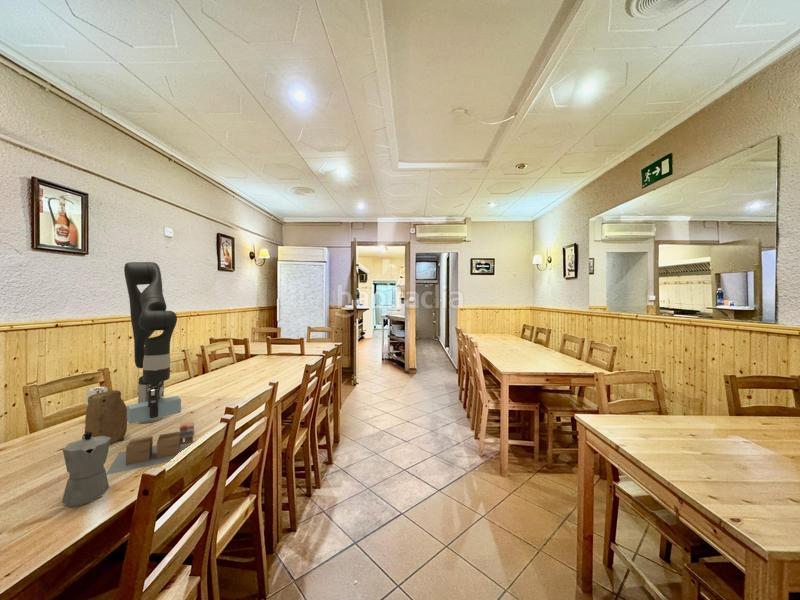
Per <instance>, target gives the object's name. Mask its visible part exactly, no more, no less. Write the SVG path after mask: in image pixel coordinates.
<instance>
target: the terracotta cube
mask: <svg viewBox="0 0 800 600" xmlns="http://www.w3.org/2000/svg"><path fill="white" fill-rule="evenodd" d="M184 425H187V430H191V429H193V436H194V433H195V421H190V422H185V423H180V426H179V431H181V426H184Z"/></svg>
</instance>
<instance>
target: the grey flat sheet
mask: <svg viewBox="0 0 800 600" xmlns="http://www.w3.org/2000/svg"><path fill="white" fill-rule="evenodd" d="M183 441H185V439H183ZM188 446H190V445H186V446H180V449H179V452H181V451H182V450H184V449H185V448H187V447H188ZM175 456H176V455H174V456H169V457H164V458H159V459H157V445H154V446H153V445H152V455H151V457H150V460H149V461H144V462H139V463H134V464H130V465H126V450H125V451H120V452H118V453H117V455H116V457H115V459H114V461H112V464H111V465H110V466H109V469H108V470H107V471H106V475H107V476H108V475H110V474H111V475H112V474H115V473H116V474H117V473H121V472H126V471H130V470H136V469H140V468H146V467H150V466H155V465H159V464H163V463H168V462H171V461H170V460H171V459H173V458H174V457H175Z"/></svg>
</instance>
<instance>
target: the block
mask: <svg viewBox="0 0 800 600" xmlns="http://www.w3.org/2000/svg"><path fill="white" fill-rule="evenodd" d="M84 423H85V426H84V434H85V433H88V432H92V436H91V437H98V436H106V437H110V438H111V441H110V445H109V447H110V446H111V445H115V444H116V443H119V442H122V440H123V439H124V437H125V436H126V433H127V429H128V421H127V405H126V403H125V401H124V400H123V398H122V393H121V390H118V389H117V390H115V389H113V390H111V389H110V390H109V389H108V391H106V392H101V393H97V394H94V395H91V396H89V397H88V405H87V406H86V410H85V422H84Z"/></svg>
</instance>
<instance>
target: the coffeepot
mask: <svg viewBox="0 0 800 600" xmlns="http://www.w3.org/2000/svg"><path fill="white" fill-rule="evenodd" d="M91 436H92V432H88V433H85V432H84V434H83V435H82V437H81V439H78V440H77V441H73V442H71V443H68V444H66V446H65V447H63V448H62V451H63V452H62V453H63V457H64V458H63V459H64V463H65V466H66V467H65V468H66V472H67V473H69V477H68V479H67V481H66V485H65V488H64V492H63V497H62V500H61V503H62V504H63V506H64V507H66V508H75V506H76V507H80V506H84V505H87V504H89V503H90V504H91V503H93V502H94V501H97V500H99V499H101V498H103V495H105V494H106V492H107V491H108V489H109V488H110V485H109V480H108V475H106V473H107V469H106V468H105V466H104V465H105V463H106V462H107V458H108V453H109V448H110V446H111V445H110V441H111V438H110V437H106V436H98V437H91ZM109 445H110V446H109ZM92 501H93V502H92Z"/></svg>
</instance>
